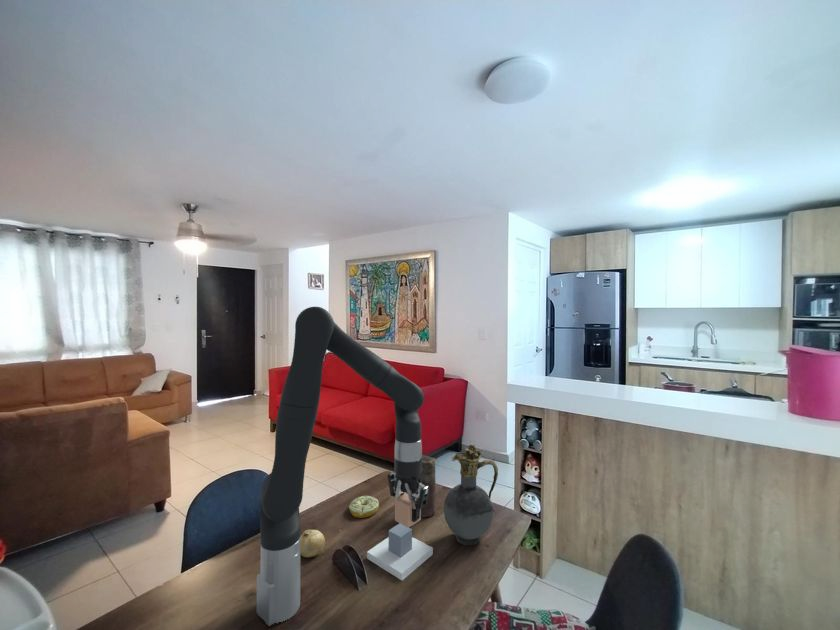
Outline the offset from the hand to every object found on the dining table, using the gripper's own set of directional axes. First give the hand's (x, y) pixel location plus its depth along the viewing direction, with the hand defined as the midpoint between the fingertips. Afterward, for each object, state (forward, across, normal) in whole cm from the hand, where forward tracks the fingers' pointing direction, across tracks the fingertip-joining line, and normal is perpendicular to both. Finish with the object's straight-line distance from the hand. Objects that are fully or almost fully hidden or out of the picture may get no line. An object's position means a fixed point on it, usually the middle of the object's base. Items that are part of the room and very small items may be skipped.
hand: (407, 516), depth 99 cm
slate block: (+15, -8, +6) cm, 18 cm away
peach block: (+1, 0, 0) cm, 1 cm away
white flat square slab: (+17, -8, +6) cm, 20 cm away
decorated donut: (+18, -35, +15) cm, 42 cm away
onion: (+18, -30, -11) cm, 36 cm away
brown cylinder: (+18, -18, +29) cm, 38 cm away
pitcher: (+18, +3, +28) cm, 33 cm away
